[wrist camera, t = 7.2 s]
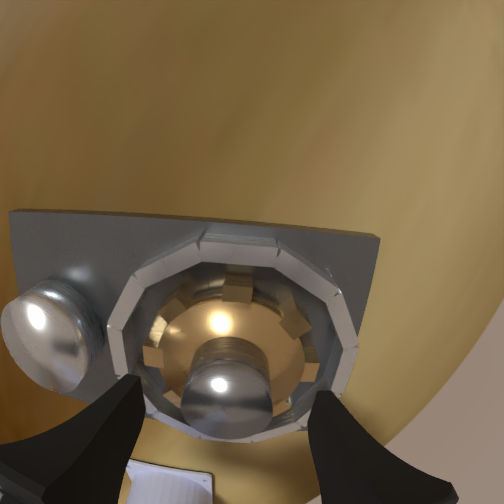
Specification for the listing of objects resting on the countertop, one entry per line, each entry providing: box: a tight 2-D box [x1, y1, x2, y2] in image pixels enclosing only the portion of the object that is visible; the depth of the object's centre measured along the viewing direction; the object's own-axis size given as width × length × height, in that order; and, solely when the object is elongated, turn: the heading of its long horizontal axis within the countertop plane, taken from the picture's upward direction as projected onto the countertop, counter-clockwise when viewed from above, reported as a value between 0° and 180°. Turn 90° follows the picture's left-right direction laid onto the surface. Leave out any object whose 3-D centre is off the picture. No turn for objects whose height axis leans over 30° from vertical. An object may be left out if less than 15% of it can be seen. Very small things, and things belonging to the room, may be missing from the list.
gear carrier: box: [1, 209, 380, 443], centre depth 13 cm, size 13×20×4 cm, turn 85°
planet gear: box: [143, 272, 320, 440], centre depth 12 cm, size 8×8×4 cm
